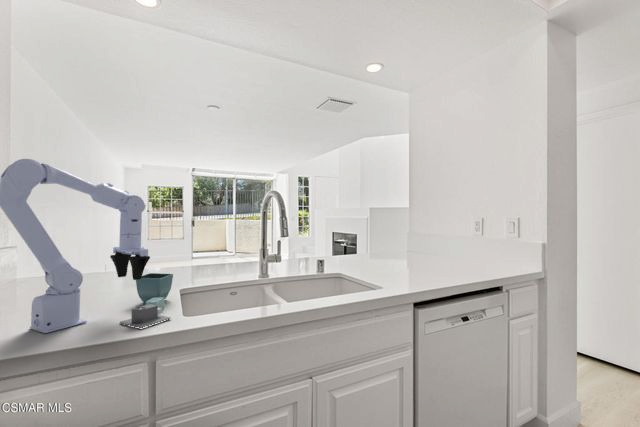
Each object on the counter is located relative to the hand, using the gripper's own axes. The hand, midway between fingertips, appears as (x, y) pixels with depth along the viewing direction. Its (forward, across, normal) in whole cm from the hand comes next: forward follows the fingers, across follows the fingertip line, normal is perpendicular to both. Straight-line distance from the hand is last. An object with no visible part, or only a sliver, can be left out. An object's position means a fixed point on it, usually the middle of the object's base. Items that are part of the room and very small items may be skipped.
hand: (129, 278), depth 95 cm
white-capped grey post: (+10, -13, +3) cm, 17 cm away
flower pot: (+10, +4, -11) cm, 16 cm away
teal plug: (+10, -6, -4) cm, 13 cm away
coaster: (+10, -13, +3) cm, 17 cm away
